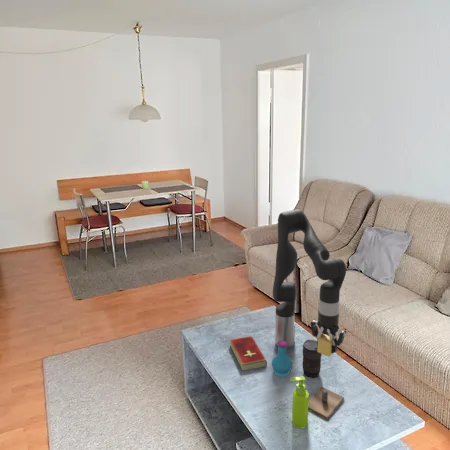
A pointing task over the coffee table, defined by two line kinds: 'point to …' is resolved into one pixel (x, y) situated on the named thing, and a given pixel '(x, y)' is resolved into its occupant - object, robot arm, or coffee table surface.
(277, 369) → the perfume bottle
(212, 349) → the coffee table surface
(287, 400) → the coffee table surface
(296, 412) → the soap dispenser
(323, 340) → the tan wooden block
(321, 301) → the robot arm
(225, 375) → the coffee table surface
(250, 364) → the hardcover book
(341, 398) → the post board
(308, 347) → the camera lens
